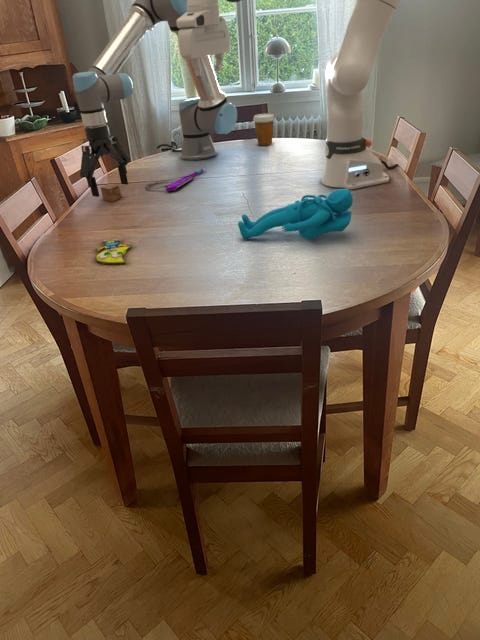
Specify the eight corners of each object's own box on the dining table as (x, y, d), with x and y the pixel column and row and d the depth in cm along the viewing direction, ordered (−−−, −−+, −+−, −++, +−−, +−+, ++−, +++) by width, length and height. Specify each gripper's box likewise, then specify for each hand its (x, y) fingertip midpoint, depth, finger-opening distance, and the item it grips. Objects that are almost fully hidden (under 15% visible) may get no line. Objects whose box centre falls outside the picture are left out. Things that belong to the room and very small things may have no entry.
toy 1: (135, 237, 135) (125, 260, 122) (135, 240, 135) (125, 263, 123) (99, 239, 135) (85, 263, 122) (100, 242, 135) (86, 266, 123)
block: (112, 196, 171) (109, 183, 169) (121, 197, 169) (119, 185, 166) (103, 200, 168) (100, 187, 166) (112, 201, 166) (109, 188, 164)
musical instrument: (142, 197, 170) (197, 185, 167) (141, 191, 169) (195, 179, 166) (155, 181, 191) (204, 170, 188) (154, 176, 190) (202, 165, 187)
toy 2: (244, 202, 136) (351, 176, 125) (255, 236, 141) (358, 213, 131) (231, 226, 122) (349, 198, 112) (243, 263, 127) (358, 239, 117)
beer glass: (276, 145, 214) (274, 116, 208) (254, 146, 215) (253, 118, 208) (274, 140, 222) (273, 112, 216) (254, 141, 223) (252, 114, 216)
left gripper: (115, 117, 166) (128, 178, 177) (57, 134, 149) (75, 200, 161) (131, 117, 162) (143, 180, 173) (73, 135, 145) (90, 203, 157)
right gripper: (216, 16, 143) (220, 68, 151) (172, 21, 130) (179, 78, 137) (233, 15, 140) (237, 68, 148) (190, 19, 126) (196, 78, 134)
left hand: (110, 190), depth 167 cm, fingers open, 13 cm apart
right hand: (209, 73), depth 142 cm, fingers open, 8 cm apart
